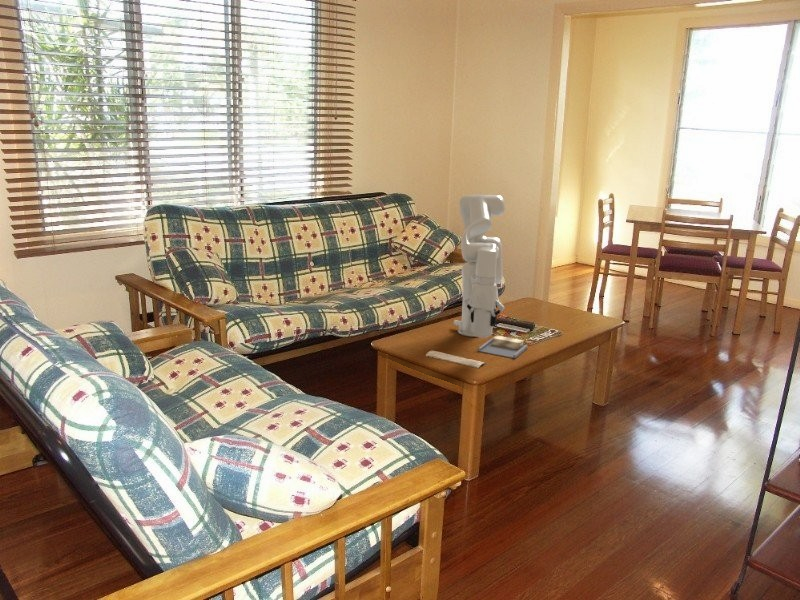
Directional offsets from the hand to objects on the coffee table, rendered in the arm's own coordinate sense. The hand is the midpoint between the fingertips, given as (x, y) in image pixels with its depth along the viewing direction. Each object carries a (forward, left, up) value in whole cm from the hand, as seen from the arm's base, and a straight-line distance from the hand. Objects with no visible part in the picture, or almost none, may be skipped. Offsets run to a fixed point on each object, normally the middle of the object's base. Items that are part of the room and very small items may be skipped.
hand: (483, 323), depth 276 cm
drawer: (+3, +14, -15) cm, 21 cm away
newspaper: (-8, -6, -16) cm, 19 cm away
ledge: (+3, +19, -15) cm, 25 cm away
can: (0, 0, -5) cm, 5 cm away
